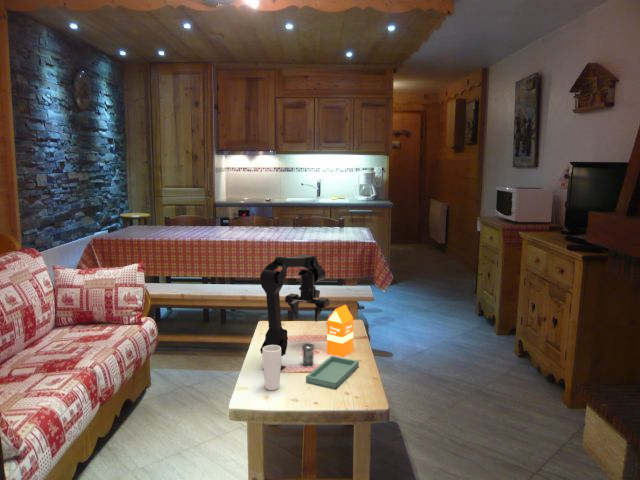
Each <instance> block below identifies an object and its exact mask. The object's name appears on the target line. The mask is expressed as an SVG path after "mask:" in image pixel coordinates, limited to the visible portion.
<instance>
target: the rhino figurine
mask: <svg viewBox="0 0 640 480" xmlns="http://www.w3.org/2000/svg"><path fill="white" fill-rule="evenodd" d="M332 313H333V312H332ZM332 313H331V312H329V313H327V314H326V321H327V320H328V319H329V317H330V316H331V315H332Z"/></svg>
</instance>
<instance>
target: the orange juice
mask: <svg viewBox="0 0 640 480" xmlns="http://www.w3.org/2000/svg"><path fill="white" fill-rule="evenodd" d="M326 326H327V328H326V329H327V331H326V333H327V335H326V341H327V342H326V343H327V344H326V353H327V354H328V353H329V354H328V355H332V354H333V355H332V356H335V355H337V356H336V357H339V356H340V358H344V357H345V356H347V355H349V354H350V353H352V352H353V351H354V318H353V315H352V314H351V312H350V310H349V308H348V306H347V304H344V305H342V306H339V307H337V308H335V309H334V311H333V312H332V315H331V316H330V317H329V319H328V320H327V319H326Z"/></svg>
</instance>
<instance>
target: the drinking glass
mask: <svg viewBox="0 0 640 480" xmlns="http://www.w3.org/2000/svg"><path fill="white" fill-rule="evenodd" d="M261 356H262V357H261V358H262V369H263V370H264V371H263V370H262V371H263V377H264V388H265V389H266V390H268V391H276V390H278V389H279V388H280V387H281V386H280V382H281V371H282V370H281V366H282V357H281V347H280V346H278V345H267V346H264V347H263V350H262V354H261Z"/></svg>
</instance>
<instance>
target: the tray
mask: <svg viewBox="0 0 640 480" xmlns="http://www.w3.org/2000/svg"><path fill="white" fill-rule="evenodd" d="M359 364H360V361H359V360H355V359H350V358H344V357H339V356H335V355H330V356H329V357H328V358H327V359H326V360H324V361H323V362H321V364H319V365H318V366H316V368H315V369H313V370H312V371H311V372H310V373H309V374H307V375H306V376H305V383H306V384H309V385H313V386H319V387H323V388H327V389H332V390H337V389H338V388H339V387H340V386H341V385H342V384H343V383H344V382H345V381H346V380H348V378H349V377H350V376H351V375H352V374H353V373H354V372H356V370H357V369H358V368H359V367H360V365H359Z"/></svg>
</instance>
